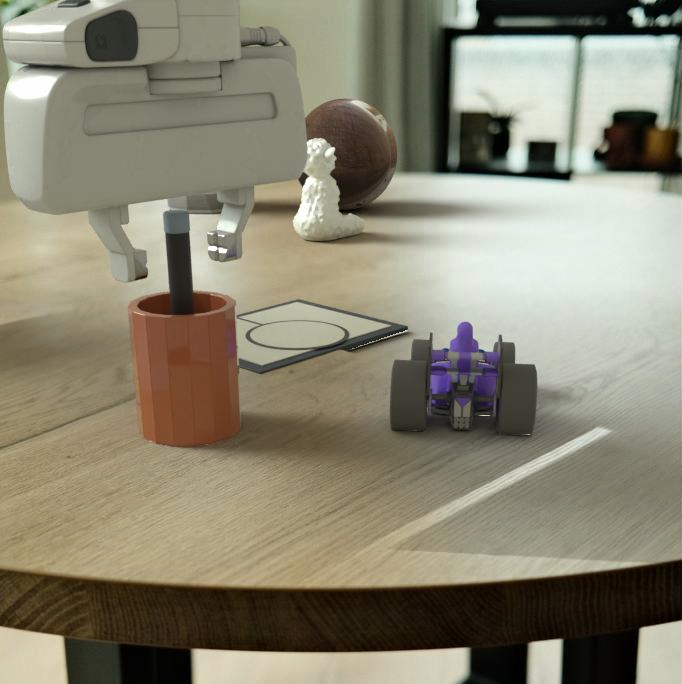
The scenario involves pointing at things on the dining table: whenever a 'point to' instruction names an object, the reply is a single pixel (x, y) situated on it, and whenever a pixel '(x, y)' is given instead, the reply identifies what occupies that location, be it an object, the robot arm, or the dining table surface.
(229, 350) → the cup
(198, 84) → the robot arm
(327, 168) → the white creature statuette
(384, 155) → the wooden sphere
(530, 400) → the toy race car
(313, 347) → the white flat board
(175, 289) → the pen
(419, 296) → the dining table surface
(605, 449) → the dining table surface
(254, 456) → the dining table surface
